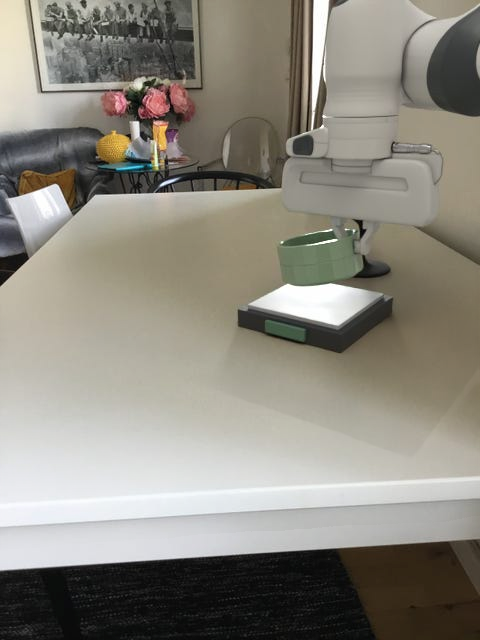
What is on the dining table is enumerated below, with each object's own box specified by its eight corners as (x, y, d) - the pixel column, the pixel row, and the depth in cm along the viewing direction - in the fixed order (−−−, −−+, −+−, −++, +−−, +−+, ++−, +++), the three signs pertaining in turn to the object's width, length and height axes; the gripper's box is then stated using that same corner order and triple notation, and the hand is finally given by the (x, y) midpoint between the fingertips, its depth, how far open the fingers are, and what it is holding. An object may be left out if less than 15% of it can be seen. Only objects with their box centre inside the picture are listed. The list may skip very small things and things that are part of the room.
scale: (392, 312, 82) (393, 292, 81) (338, 355, 70) (339, 331, 69) (297, 293, 91) (297, 274, 90) (235, 327, 79) (234, 306, 78)
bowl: (377, 265, 78) (371, 225, 77) (340, 287, 70) (333, 243, 69) (308, 268, 85) (303, 232, 84) (267, 289, 77) (260, 249, 75)
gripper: (454, 141, 65) (441, 258, 70) (300, 136, 76) (299, 237, 81) (435, 146, 60) (423, 271, 65) (274, 141, 72) (275, 247, 77)
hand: (353, 252), depth 74 cm, fingers closed on bowl
